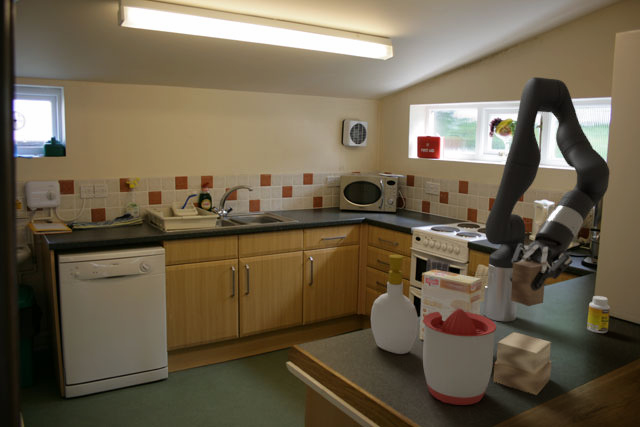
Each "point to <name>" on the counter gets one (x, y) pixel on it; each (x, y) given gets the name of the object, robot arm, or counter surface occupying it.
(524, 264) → the walnut post
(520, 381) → the block bottom
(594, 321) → the supplement bottle
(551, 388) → the counter surface
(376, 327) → the soap bottle
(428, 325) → the citrus juicer
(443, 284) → the coffeecake box
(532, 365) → the block top
